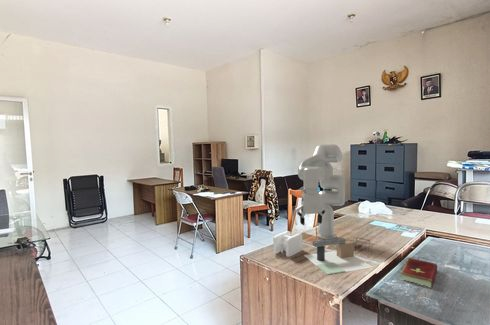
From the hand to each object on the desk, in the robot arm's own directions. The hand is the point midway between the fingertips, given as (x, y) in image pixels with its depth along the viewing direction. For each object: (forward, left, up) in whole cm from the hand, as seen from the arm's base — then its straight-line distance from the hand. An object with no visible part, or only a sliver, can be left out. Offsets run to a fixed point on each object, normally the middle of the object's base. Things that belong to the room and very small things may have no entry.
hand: (311, 223), depth 142 cm
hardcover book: (+27, +42, -23) cm, 55 cm away
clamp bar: (0, +11, -12) cm, 16 cm away
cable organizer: (-16, -6, -22) cm, 28 cm away
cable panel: (+4, +13, -22) cm, 25 cm away
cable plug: (0, +6, -20) cm, 21 cm away
